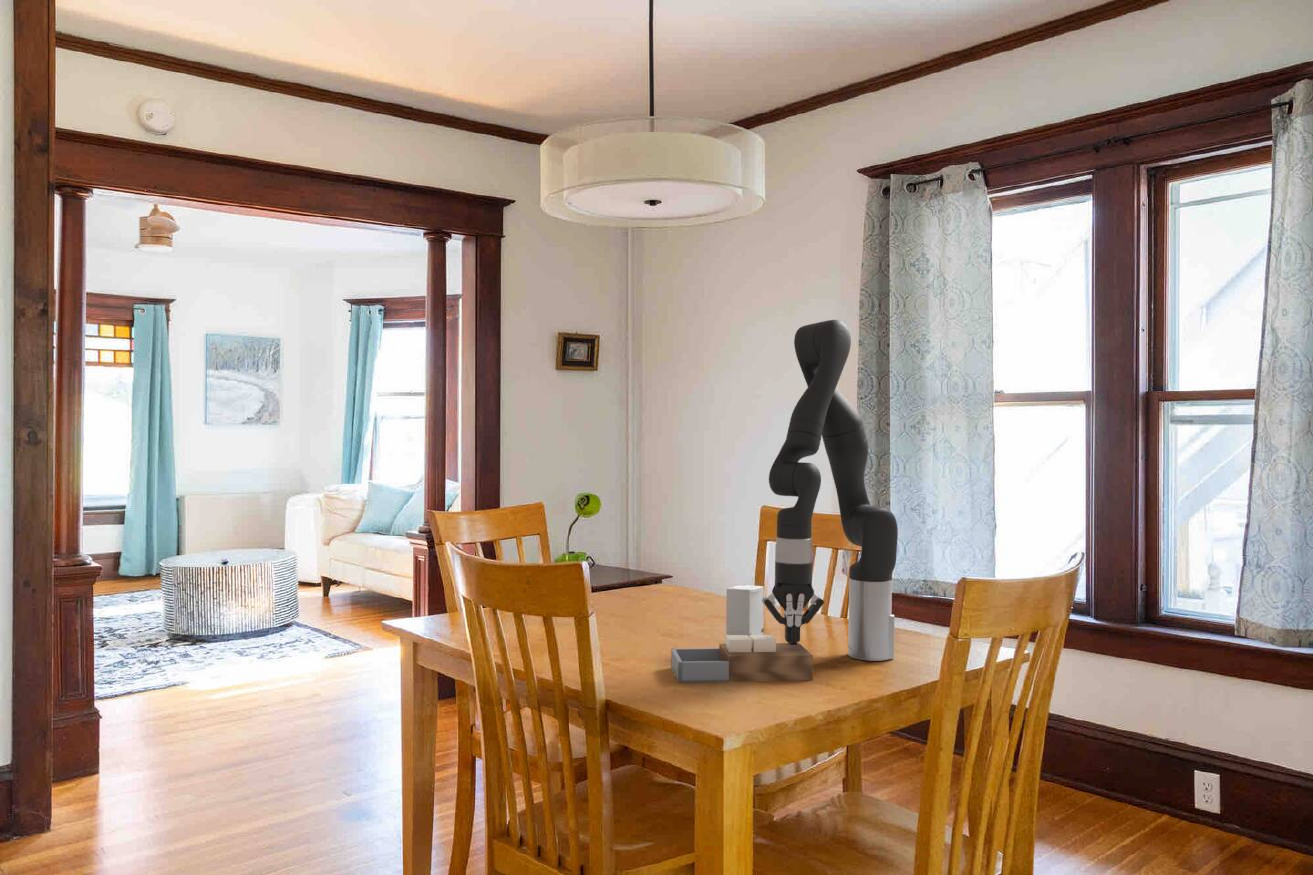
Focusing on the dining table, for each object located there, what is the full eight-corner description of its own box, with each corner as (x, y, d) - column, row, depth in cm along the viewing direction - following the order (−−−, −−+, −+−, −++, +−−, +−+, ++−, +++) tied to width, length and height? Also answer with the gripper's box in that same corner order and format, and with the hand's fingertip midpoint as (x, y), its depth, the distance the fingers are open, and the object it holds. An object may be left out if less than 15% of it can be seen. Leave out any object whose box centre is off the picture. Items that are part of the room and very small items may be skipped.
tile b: (747, 646, 196) (747, 634, 196) (751, 652, 192) (751, 639, 192) (725, 647, 196) (725, 635, 196) (729, 652, 192) (729, 639, 192)
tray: (718, 667, 200) (718, 647, 200) (728, 682, 188) (728, 661, 188) (671, 667, 199) (671, 648, 199) (678, 682, 187) (678, 662, 187)
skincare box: (749, 658, 208) (750, 590, 208) (724, 654, 211) (725, 587, 211) (764, 650, 215) (765, 585, 215) (740, 647, 218) (741, 582, 218)
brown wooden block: (798, 666, 201) (798, 642, 201) (812, 680, 190) (812, 655, 190) (718, 667, 199) (719, 643, 199) (728, 681, 188) (728, 656, 188)
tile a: (770, 646, 197) (771, 634, 197) (775, 651, 192) (775, 639, 192) (749, 646, 197) (749, 634, 196) (753, 652, 192) (754, 639, 192)
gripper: (820, 557, 199) (818, 639, 199) (758, 557, 198) (756, 640, 198) (830, 562, 192) (829, 648, 192) (765, 562, 191) (764, 648, 191)
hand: (792, 643), depth 195 cm, fingers closed
